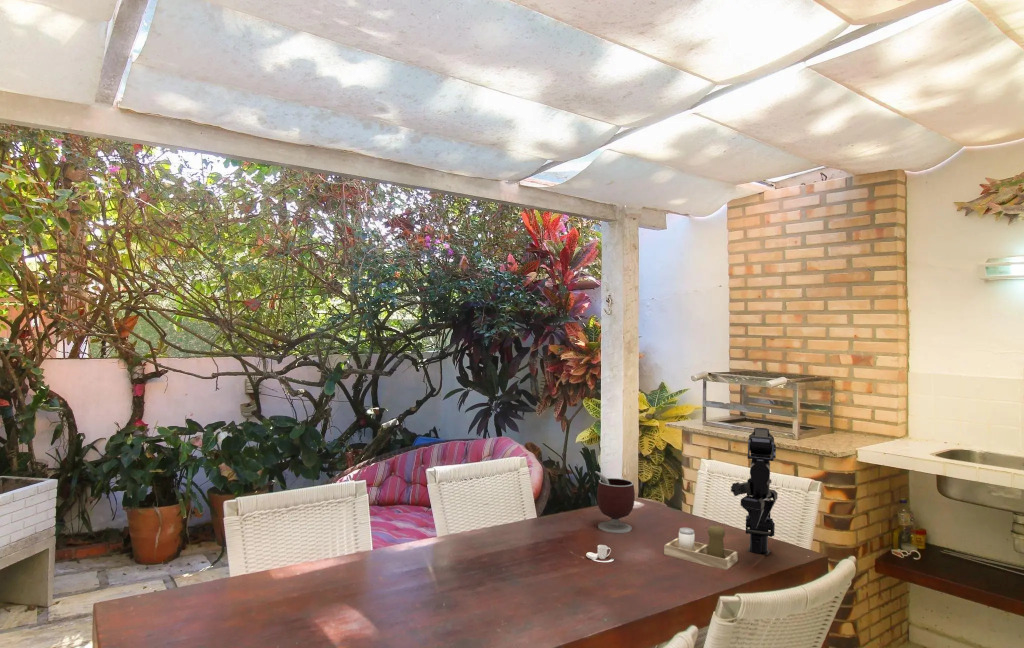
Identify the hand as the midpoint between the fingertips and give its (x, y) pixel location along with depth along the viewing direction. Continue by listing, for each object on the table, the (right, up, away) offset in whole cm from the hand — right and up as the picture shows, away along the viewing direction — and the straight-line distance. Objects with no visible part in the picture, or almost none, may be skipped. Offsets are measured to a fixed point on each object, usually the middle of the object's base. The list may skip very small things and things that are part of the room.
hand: (758, 525), depth 203 cm
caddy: (-17, -12, +4) cm, 22 cm away
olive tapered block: (-13, -12, +1) cm, 18 cm away
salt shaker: (-21, -12, +7) cm, 25 cm away
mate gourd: (-41, -12, +36) cm, 56 cm away
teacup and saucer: (-51, -12, +5) cm, 53 cm away
